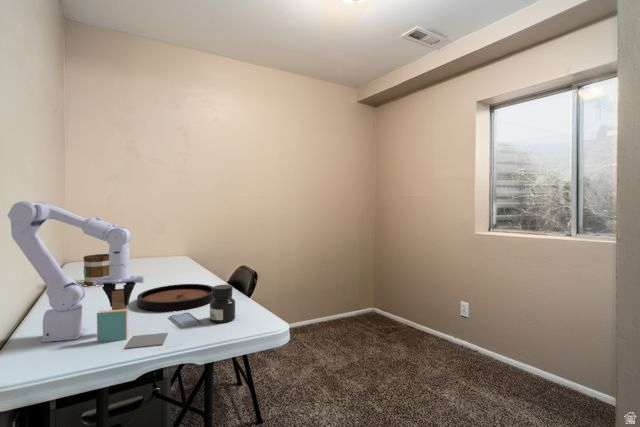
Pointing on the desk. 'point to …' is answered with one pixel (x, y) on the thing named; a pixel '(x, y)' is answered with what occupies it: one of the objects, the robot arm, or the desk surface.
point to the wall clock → (175, 298)
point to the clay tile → (112, 325)
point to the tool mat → (146, 340)
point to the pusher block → (118, 299)
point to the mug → (95, 267)
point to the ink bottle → (222, 304)
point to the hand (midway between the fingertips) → (119, 305)
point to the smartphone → (185, 320)
